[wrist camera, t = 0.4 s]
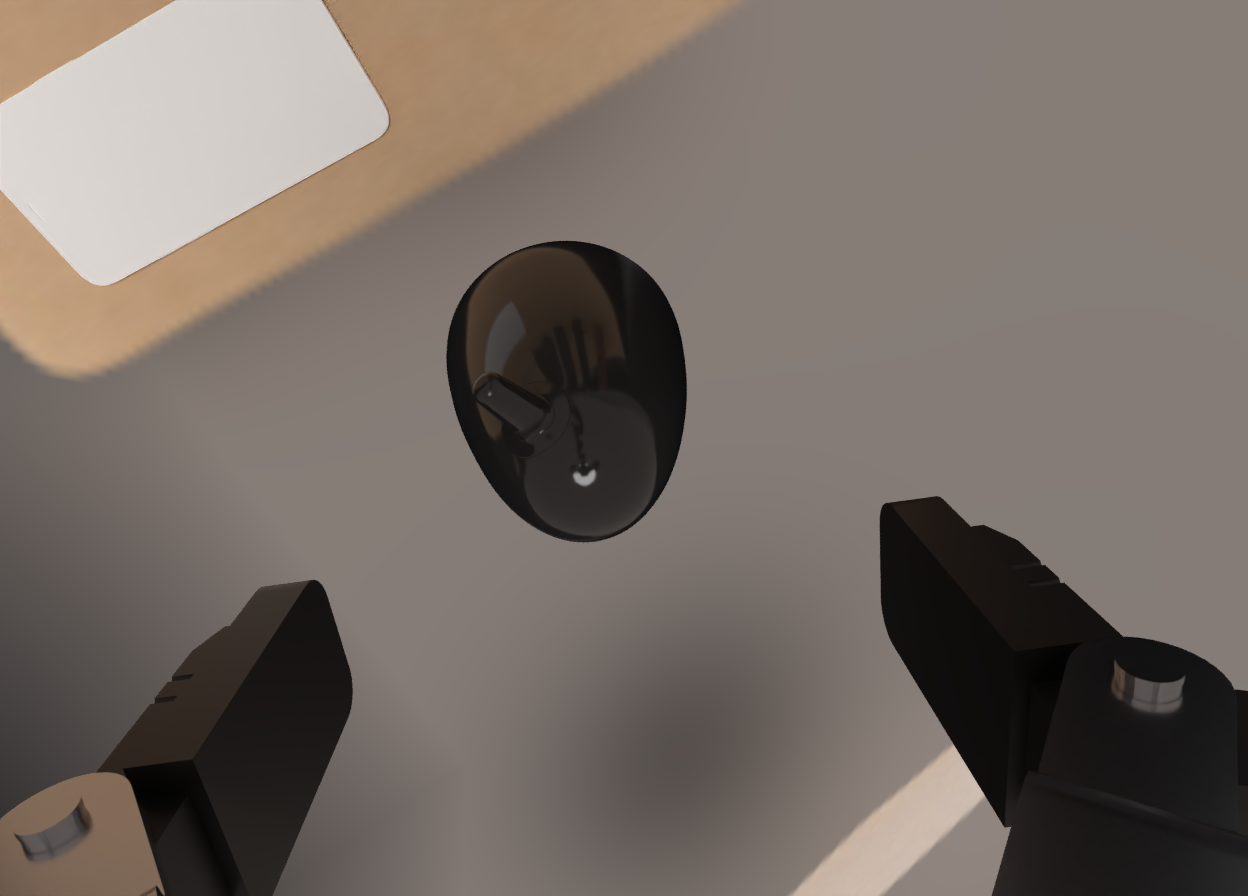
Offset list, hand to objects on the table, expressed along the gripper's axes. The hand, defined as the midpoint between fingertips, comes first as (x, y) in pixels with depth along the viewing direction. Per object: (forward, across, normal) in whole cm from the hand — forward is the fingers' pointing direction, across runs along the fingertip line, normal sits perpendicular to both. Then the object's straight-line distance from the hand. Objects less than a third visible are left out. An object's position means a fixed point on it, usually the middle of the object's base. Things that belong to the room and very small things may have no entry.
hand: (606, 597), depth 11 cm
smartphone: (+25, +15, -9) cm, 31 cm away
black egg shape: (+28, +2, +1) cm, 28 cm away
